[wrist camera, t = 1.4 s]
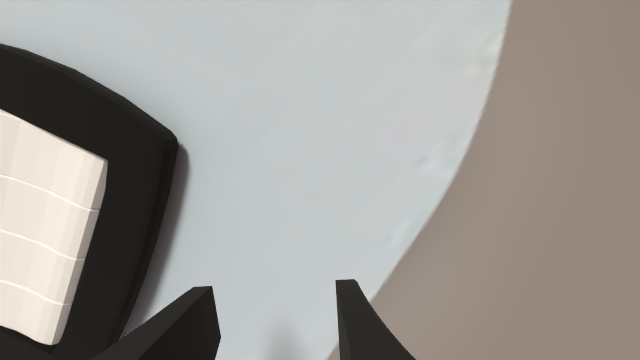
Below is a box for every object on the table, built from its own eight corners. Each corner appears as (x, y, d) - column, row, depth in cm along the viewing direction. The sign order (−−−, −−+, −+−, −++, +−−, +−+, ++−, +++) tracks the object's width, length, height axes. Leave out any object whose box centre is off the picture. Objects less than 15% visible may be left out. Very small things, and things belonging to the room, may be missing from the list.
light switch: (-99, -2, 14) (178, 131, 14) (-25, 16, 17) (206, 127, 17) (-131, 327, 19) (77, 425, 19) (-70, 299, 22) (112, 384, 22)
